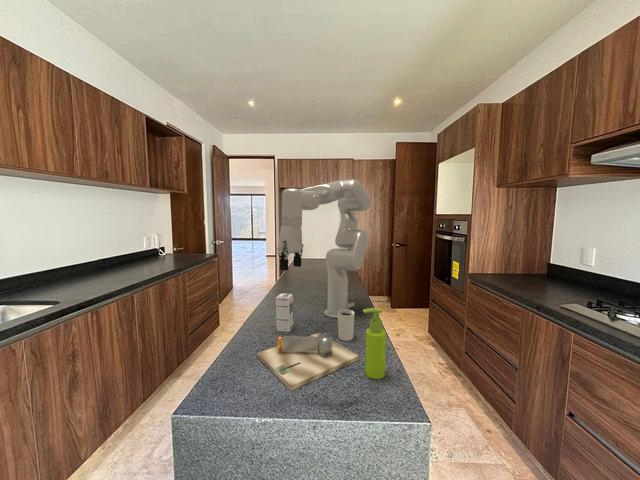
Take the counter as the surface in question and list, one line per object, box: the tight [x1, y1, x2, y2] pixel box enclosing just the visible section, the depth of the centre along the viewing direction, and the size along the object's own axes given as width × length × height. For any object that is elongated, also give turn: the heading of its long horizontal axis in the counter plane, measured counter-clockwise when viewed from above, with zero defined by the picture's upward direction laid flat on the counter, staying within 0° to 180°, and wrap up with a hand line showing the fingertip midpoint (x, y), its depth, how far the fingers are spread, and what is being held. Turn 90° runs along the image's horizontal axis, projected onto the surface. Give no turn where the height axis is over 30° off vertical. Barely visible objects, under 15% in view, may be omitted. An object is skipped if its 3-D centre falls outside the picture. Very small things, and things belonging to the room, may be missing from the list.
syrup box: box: [275, 292, 295, 333], centre depth 113 cm, size 6×6×14 cm
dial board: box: [256, 332, 360, 392], centre depth 90 cm, size 26×22×2 cm
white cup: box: [337, 309, 355, 342], centre depth 106 cm, size 7×7×10 cm
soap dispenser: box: [362, 307, 387, 380], centre depth 81 cm, size 6×7×20 cm
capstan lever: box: [276, 332, 333, 356], centre depth 91 cm, size 18×8×5 cm, turn 87°
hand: (290, 268), depth 102 cm, fingers open, 9 cm apart
